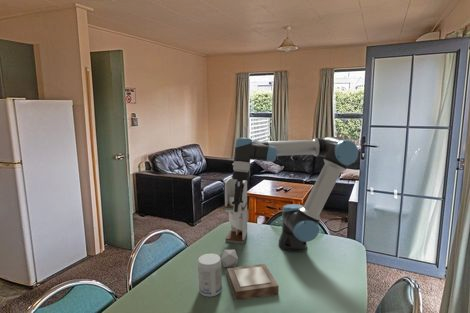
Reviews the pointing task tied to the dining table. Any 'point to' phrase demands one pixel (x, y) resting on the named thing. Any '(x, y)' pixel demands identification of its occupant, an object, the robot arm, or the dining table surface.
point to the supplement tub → (210, 275)
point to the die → (229, 258)
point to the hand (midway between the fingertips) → (236, 218)
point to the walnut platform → (252, 282)
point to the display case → (237, 226)
